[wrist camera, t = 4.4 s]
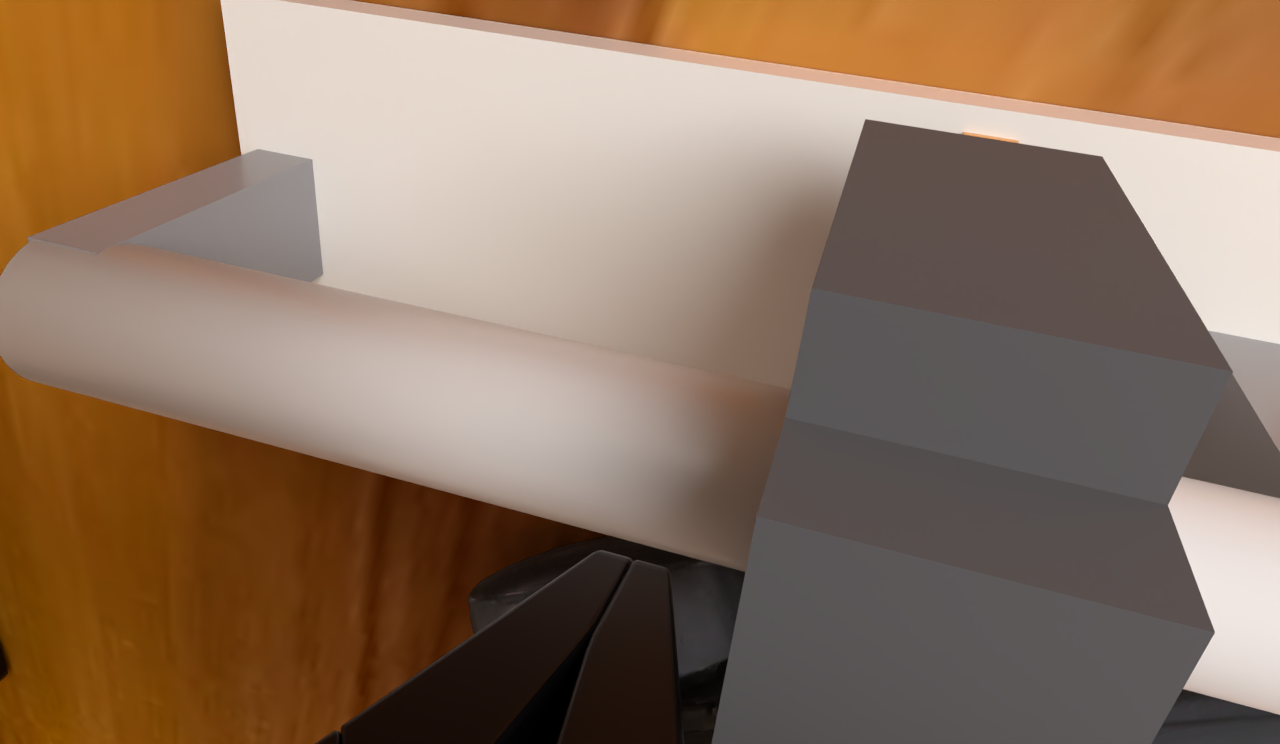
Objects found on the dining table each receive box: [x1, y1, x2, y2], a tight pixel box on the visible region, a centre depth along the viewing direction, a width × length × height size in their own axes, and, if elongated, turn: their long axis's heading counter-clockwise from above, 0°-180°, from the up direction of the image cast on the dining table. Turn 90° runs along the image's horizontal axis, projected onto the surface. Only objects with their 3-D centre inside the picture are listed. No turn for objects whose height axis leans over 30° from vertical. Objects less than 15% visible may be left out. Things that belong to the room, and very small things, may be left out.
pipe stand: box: [0, 0, 1280, 715], centre depth 14 cm, size 8×19×7 cm, turn 84°
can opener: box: [469, 536, 1280, 744], centre depth 18 cm, size 18×7×6 cm, turn 106°
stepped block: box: [711, 119, 1233, 744], centre depth 11 cm, size 8×3×8 cm, turn 174°
